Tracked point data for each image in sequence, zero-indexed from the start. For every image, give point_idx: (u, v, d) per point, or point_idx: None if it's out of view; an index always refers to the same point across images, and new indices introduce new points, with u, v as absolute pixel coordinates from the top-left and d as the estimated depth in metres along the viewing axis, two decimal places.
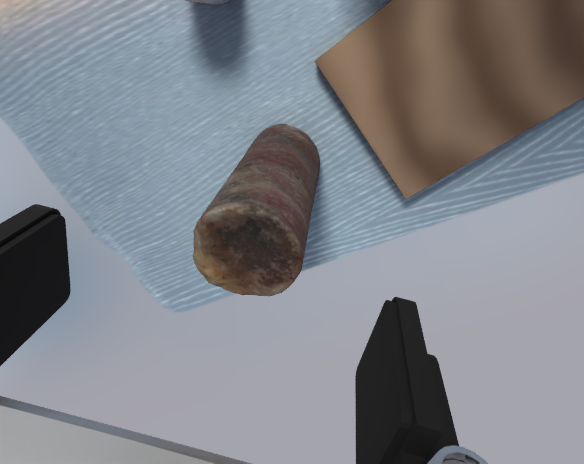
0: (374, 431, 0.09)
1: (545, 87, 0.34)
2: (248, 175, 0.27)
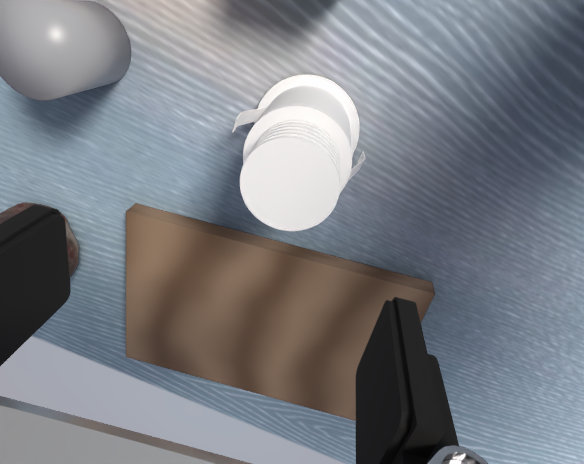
0: (374, 431, 0.09)
1: (279, 380, 0.36)
2: None
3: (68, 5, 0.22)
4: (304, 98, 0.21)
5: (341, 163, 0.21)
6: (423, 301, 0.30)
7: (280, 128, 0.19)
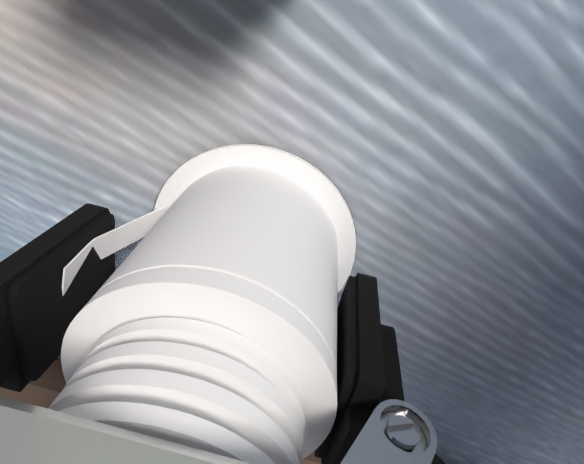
0: None
1: None
2: None
3: None
4: (218, 230, 0.09)
5: (309, 404, 0.08)
6: None
7: (105, 382, 0.06)
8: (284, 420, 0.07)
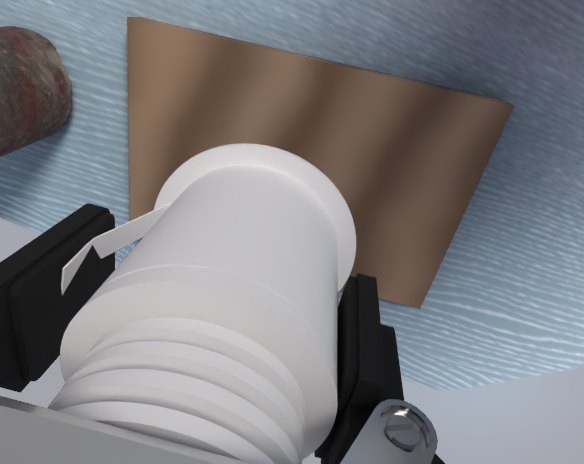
0: None
1: None
2: None
3: None
4: (217, 229, 0.09)
5: (309, 404, 0.08)
6: (498, 119, 0.24)
7: (104, 382, 0.06)
8: (284, 420, 0.07)
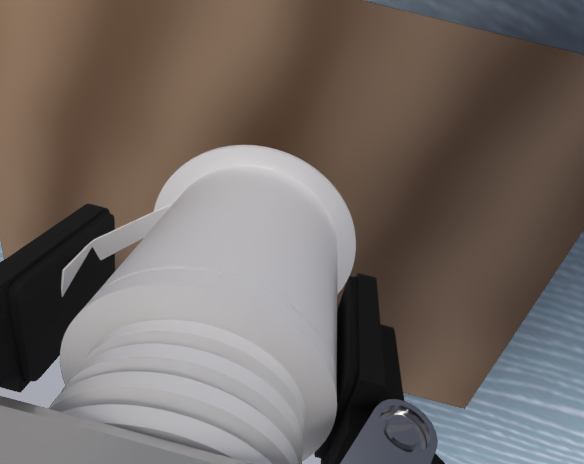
0: None
1: None
2: None
3: None
4: (217, 231, 0.09)
5: (309, 406, 0.08)
6: None
7: (104, 385, 0.06)
8: (283, 422, 0.07)
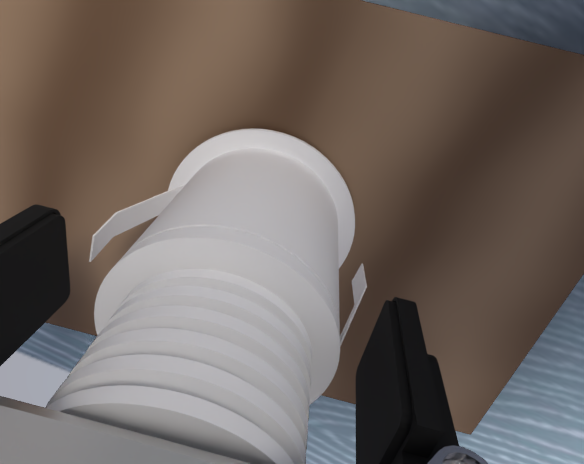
0: (374, 431, 0.09)
1: None
2: None
3: None
4: (233, 198, 0.10)
5: (315, 351, 0.09)
6: None
7: (144, 316, 0.07)
8: (295, 355, 0.08)
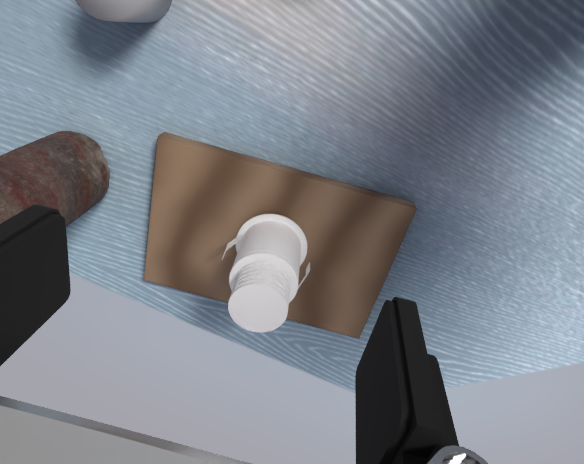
0: (374, 431, 0.09)
1: None
2: None
3: None
4: (268, 242, 0.34)
5: (291, 285, 0.33)
6: (407, 216, 0.36)
7: (253, 271, 0.31)
8: (286, 282, 0.32)
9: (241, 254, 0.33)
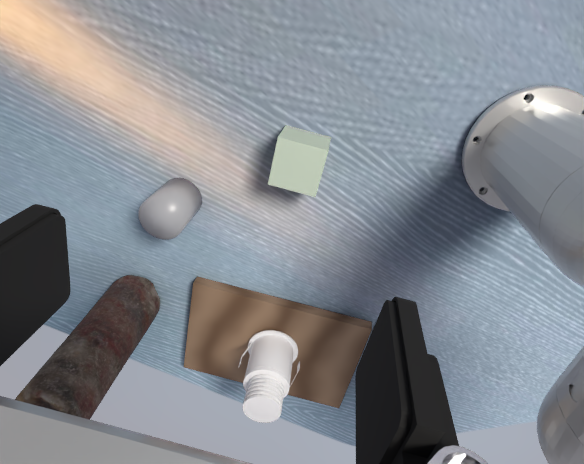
0: (373, 431, 0.09)
1: None
2: (88, 363, 0.42)
3: (177, 192, 0.44)
4: (269, 357, 0.50)
5: (284, 387, 0.50)
6: (365, 333, 0.52)
7: (258, 384, 0.47)
8: (280, 389, 0.48)
9: (251, 367, 0.50)
